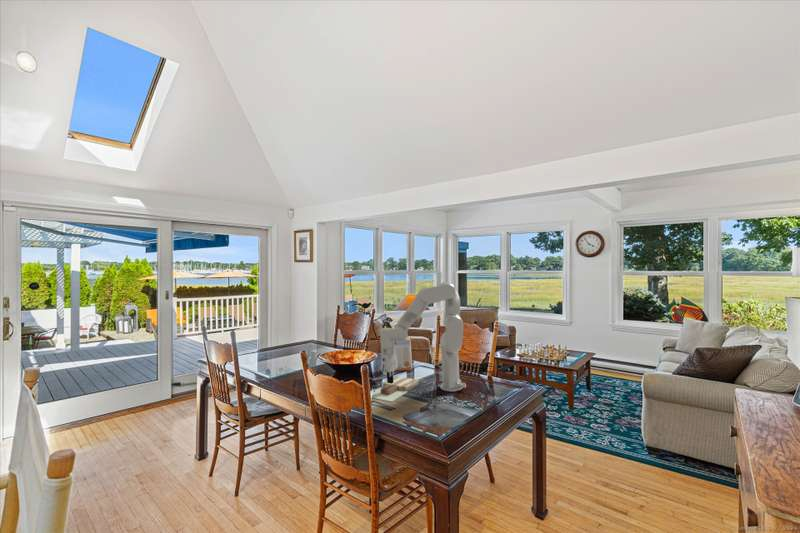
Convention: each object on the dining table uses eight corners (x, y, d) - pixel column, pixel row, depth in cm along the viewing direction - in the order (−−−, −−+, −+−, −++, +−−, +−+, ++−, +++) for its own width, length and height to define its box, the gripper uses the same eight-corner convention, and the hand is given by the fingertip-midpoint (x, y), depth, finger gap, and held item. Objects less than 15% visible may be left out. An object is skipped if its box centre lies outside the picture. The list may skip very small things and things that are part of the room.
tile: (398, 389, 213) (398, 385, 213) (389, 395, 205) (389, 390, 205) (389, 388, 216) (389, 384, 216) (380, 393, 209) (380, 389, 209)
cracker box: (412, 368, 255) (410, 337, 255) (411, 371, 249) (410, 339, 249) (391, 368, 257) (390, 338, 256) (390, 371, 251) (389, 340, 250)
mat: (407, 392, 210) (407, 391, 210) (391, 401, 196) (391, 401, 196) (381, 387, 220) (381, 386, 220) (364, 396, 206) (364, 395, 206)
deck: (418, 384, 223) (418, 379, 222) (406, 391, 211) (406, 387, 211) (396, 380, 231) (396, 376, 231) (383, 387, 219) (382, 383, 219)
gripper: (386, 354, 202) (388, 388, 203) (400, 347, 215) (403, 379, 215) (374, 353, 206) (377, 386, 207) (390, 346, 219) (392, 378, 219)
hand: (390, 382), depth 211 cm, fingers closed
